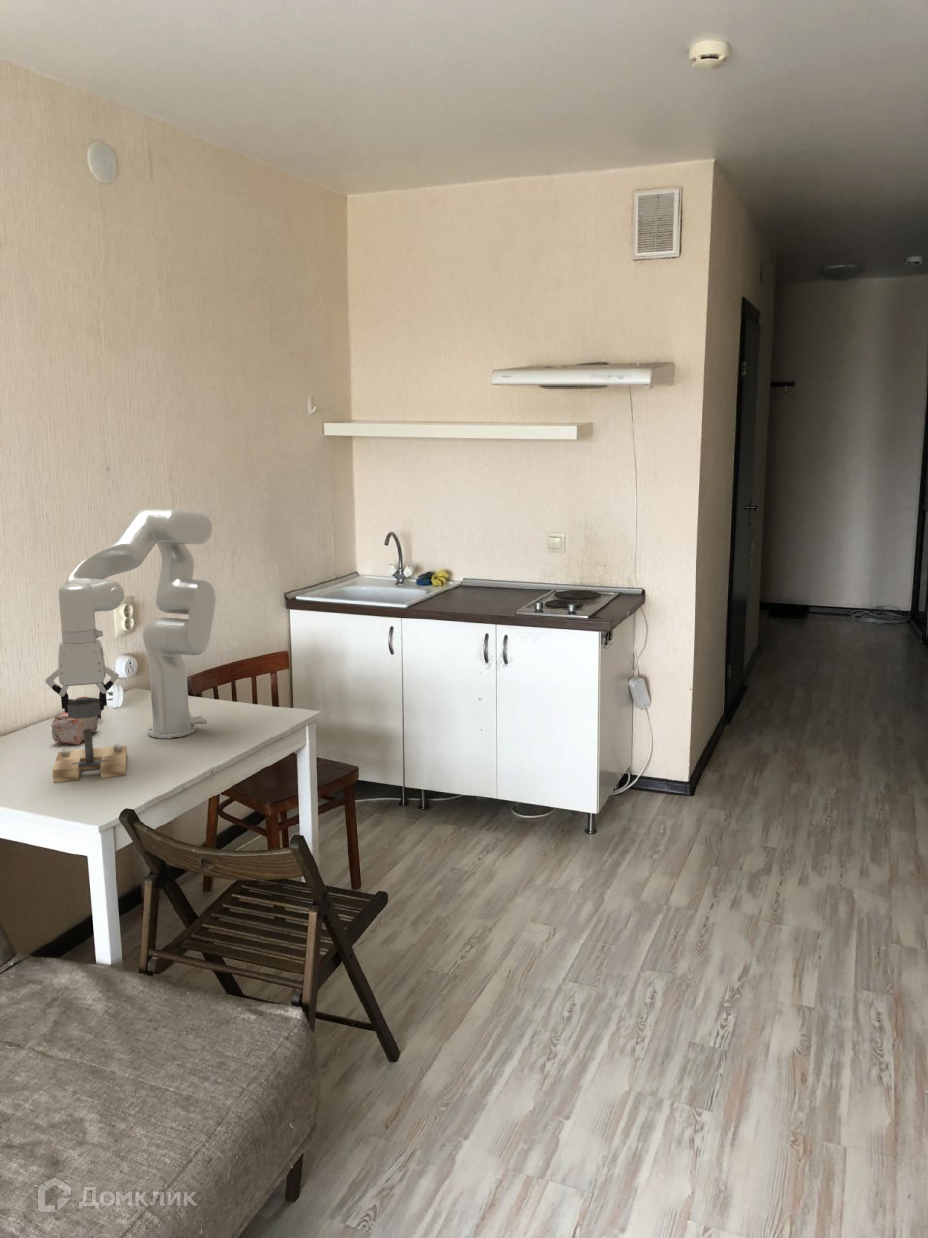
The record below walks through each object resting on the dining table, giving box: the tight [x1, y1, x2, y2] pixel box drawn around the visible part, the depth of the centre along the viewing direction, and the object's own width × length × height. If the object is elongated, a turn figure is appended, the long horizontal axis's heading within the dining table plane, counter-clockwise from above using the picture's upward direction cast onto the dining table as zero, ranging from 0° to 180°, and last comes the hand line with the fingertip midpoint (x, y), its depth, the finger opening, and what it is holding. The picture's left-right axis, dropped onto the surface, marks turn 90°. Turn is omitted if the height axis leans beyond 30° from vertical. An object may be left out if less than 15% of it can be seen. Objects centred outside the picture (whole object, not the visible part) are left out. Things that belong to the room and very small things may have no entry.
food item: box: [50, 709, 98, 746], centre depth 263 cm, size 14×8×10 cm, turn 179°
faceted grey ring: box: [67, 697, 103, 719], centre depth 234 cm, size 7×7×3 cm
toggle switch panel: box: [52, 729, 128, 783], centre depth 239 cm, size 16×14×11 cm
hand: (84, 709), depth 234 cm, fingers closed on faceted grey ring, 7 cm apart
